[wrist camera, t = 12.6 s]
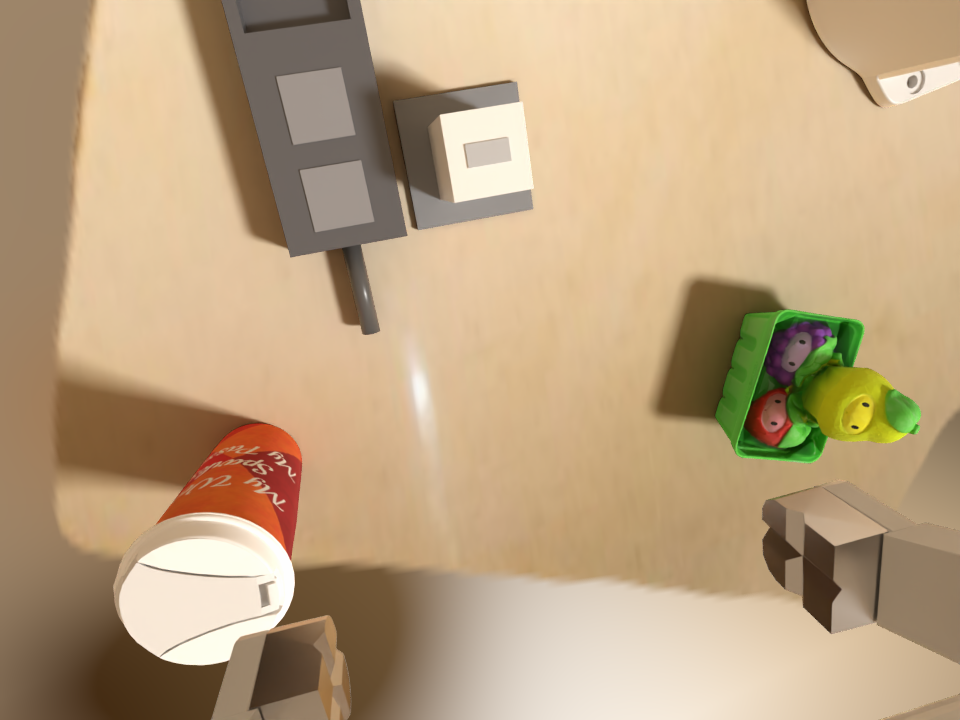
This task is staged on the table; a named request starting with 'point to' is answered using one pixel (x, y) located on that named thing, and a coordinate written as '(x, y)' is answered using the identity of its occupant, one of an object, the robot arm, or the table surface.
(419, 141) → the mat
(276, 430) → the coffee cup
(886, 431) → the fruit basket
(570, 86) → the table surface
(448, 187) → the block
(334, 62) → the power strip
